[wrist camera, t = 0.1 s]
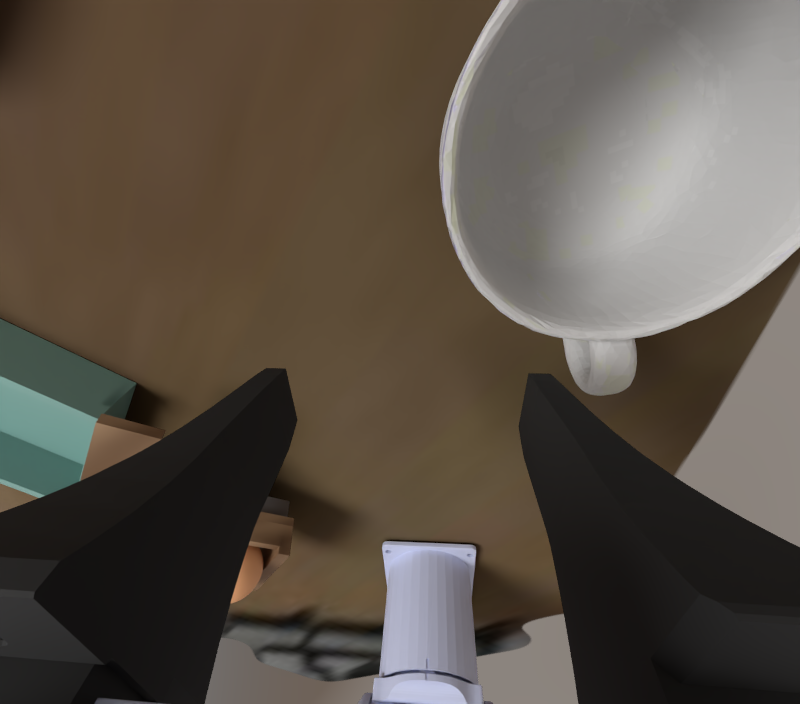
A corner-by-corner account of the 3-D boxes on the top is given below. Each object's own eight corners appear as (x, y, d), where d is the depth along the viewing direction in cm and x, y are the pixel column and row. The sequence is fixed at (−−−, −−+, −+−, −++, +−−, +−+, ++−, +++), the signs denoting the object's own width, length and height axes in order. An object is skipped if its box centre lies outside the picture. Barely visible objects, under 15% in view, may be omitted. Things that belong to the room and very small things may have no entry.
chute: (332, 454, 26) (330, 512, 23) (265, 535, 32) (256, 590, 29) (116, 391, 21) (73, 455, 17) (84, 502, 27) (47, 566, 23)
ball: (275, 551, 29) (261, 611, 26) (222, 554, 29) (202, 615, 26) (261, 523, 26) (244, 586, 23) (204, 526, 26) (179, 589, 23)
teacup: (447, -27, 14) (461, -159, 7) (761, -29, 13) (1104, -177, 6) (428, 316, 21) (426, 411, 14) (628, 325, 21) (722, 429, 14)
